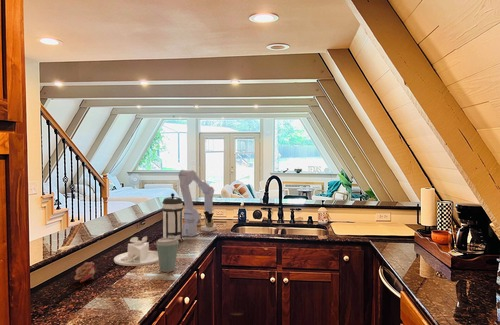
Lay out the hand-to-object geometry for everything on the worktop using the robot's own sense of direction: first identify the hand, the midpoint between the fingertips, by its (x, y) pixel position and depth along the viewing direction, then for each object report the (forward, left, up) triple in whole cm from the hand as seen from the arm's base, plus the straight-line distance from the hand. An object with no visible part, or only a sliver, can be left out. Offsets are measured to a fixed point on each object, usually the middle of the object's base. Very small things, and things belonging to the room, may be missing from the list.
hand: (208, 222), depth 266 cm
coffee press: (-38, +1, -6) cm, 38 cm away
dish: (-76, -6, -6) cm, 77 cm away
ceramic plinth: (0, 0, -6) cm, 6 cm away
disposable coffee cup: (-84, -31, -6) cm, 90 cm away
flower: (-112, -9, -6) cm, 113 cm away
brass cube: (0, 0, -2) cm, 3 cm away
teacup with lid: (+12, +18, -6) cm, 22 cm away
